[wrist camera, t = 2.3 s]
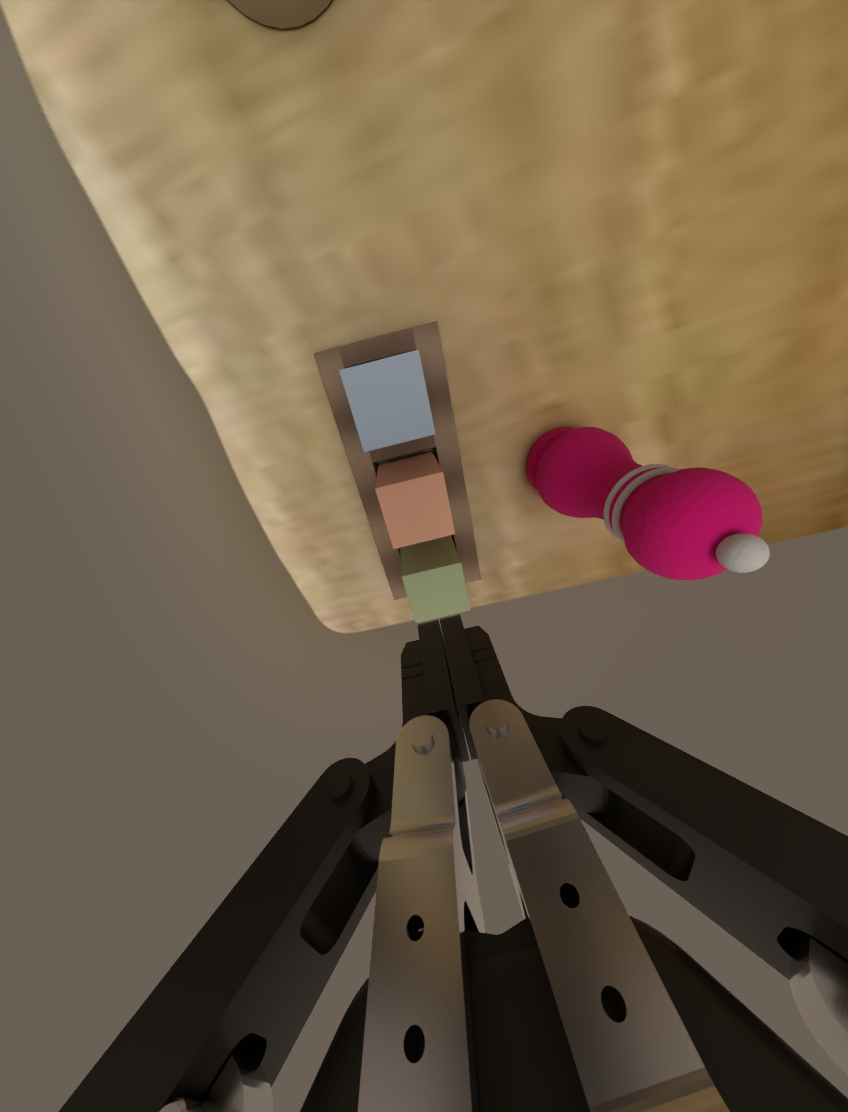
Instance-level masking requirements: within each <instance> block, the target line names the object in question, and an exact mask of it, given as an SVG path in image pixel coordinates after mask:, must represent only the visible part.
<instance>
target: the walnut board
mask: <svg viewBox="0 0 848 1112" xmlns="http://www.w3.org/2000/svg"><path fill="white" fill-rule="evenodd" d="M415 350H419V354H420V359H421V364H422V369H423V374H424V379H425V384H426V389H427V394H428V399H429V404H430V409H431V414H432V419H433V424H434V429H435V434H434V435H430V436H426V437H422V438H418V439H415V440H411V441H407V442H403V443H399V444H395V445H391V446H387V447H383V448H379V449H375V450H371V451H367V452H364V451H363V448H362V444H361V441H360V438H359V434H358V431H357V428H356V425H355V421H354V418H353V415H352V411H351V408H350V405H349V402H348V398H347V395H346V392H345V388H344V385H343V382H342V378H341V375H340V372H339V370H342V369H346V368H349V367H353V366H357V365H361V364H365V363H369V362H373V361H376V360H380V359H384V358H388V357H392V356H396V355H400V354H403V353H407V352H411V351H415ZM314 356H315V359H316V363H317V366H318V369H319V372H320V375H321V378H322V381H323V384H324V387H325V390H326V393H327V396H328V399H329V402H330V405H331V408H332V411H333V414H334V417H335V420H336V423H337V426H338V429H339V433H340V436H341V439H342V442H343V445H344V448H345V451H346V454H347V457H348V460H349V463H350V466H351V469H352V472H353V475H354V478H355V481H356V484H357V487H358V490H359V493H360V496H361V499H362V503H363V506H364V509H365V512H366V515H367V518H368V521H369V524H370V527H371V530H372V533H373V536H374V539H375V542H376V545H377V548H378V551H379V554H380V557H381V560H382V563H383V566H384V569H385V572H386V576H387V579H388V582H389V585H390V588H391V591H392V594H393V597H394V600H396V599H401V598H405V597H408V596H407V592H406V589H405V586H404V583H403V579H402V573H401V554H400V548H396V549H393V546H392V543H391V540H390V537H389V533H388V530H387V527H386V523H385V520H384V517H383V513H382V510H381V507H380V504H379V500H378V497H377V494H376V490H375V485H376V479H377V472H378V468H377V464H376V462H377V461H381V460H385V459H389V458H393V457H397V456H401V455H405V454H409V453H413V452H417V451H421V450H425V449H429V448H433V447H434V452H435V457H436V460H437V462H438V464H439V466H440V467H441V469H442V471H443V474H444V479H445V484H446V489H447V494H448V499H449V504H450V509H451V514H452V519H453V525H454V530H455V534H454V535H452V540H453V543H454V545H455V548H456V550H457V553H458V556H459V558H460V561H461V565H462V570H463V575H464V580H465V583H468V582H472V581H476V580H480V579H481V576H480V570H479V564H478V558H477V552H476V547H475V541H474V535H473V529H472V523H471V517H470V511H469V506H468V500H467V494H466V488H465V482H464V476H463V471H462V465H461V459H460V453H459V447H458V441H457V435H456V430H455V424H454V418H453V412H452V406H451V400H450V394H449V389H448V383H447V377H446V371H445V365H444V359H443V354H442V348H441V342H440V336H439V330H438V324H437V321H436V322H432V323H428V324H425V325H421V326H417V327H413V328H409V329H406V330H402V331H398V332H394V333H390V334H386V335H383V336H379V337H375V338H371V339H367V340H363V341H360V342H356V343H352V344H348V345H344V346H340V347H337V348H333V349H329V350H325V351H321V352H318V353H314Z"/></svg>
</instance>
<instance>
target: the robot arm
mask: <svg viewBox="0 0 848 1112" xmlns="http://www.w3.org/2000/svg"><path fill="white" fill-rule="evenodd" d="M228 1H229V2H230V3H232V4H233V5H234V6H235V7H236V8H237V9H239V10H240V11H241V12H242V13H243V14H244V15H246V16H248V17H250V18H252V19H254V20H255V21H257V22H259V23H261V24H263V25H267V26H272V27H276V28H281V29H283V28H292V27H299V26H301V25H303V24H305V23H307V22H309V21H311V20H313V19H315V18H316V17H317V16H318V15H319V14H320V13H321V12H322V11H323V10H324V9H325V8H326V7H327V6H328V5H329V3H330V2H331V0H228ZM440 623H441V628H442V632H441V628H440V625H439V621H438V620H435V621H431V622H427V623H422V624H419V625H418V631H419V640H416V641H412V642H408V643H406V645H405V647H404V649H403V652H402V654H401V669H402V670H401V675H402V705H403V726H402V729H401V731H400V732H399V734H398V737H397V740H396V742H395V743H394V744H393V745H392V746H391V747H390V748H389V749H388V750H387V751H386V752H384V753H383V754H381V755H379V756H378V757H376V758H374V759H373V760H371V761H369V762H367V763H366V764H364V763H363V762H362V761H360V760H358V759H355V758H346V759H342V760H339V761H337V762H335V763H334V764H332V765H331V766H330V767H328V769H326V770H325V772H324V773H323V774H322V775H321V776H320V778H319V779H318V780H317V782H316V783H315V784H314V785H313V787H312V788H311V789H310V790H309V792H308V793H307V794H306V796H305V797H304V798H303V800H302V801H301V802H300V803H299V805H298V806H297V807H296V808H295V810H294V811H293V812H292V814H291V815H290V816H289V817H288V819H287V820H286V821H285V822H284V824H283V825H282V827H281V828H280V829H279V830H278V831H277V833H276V834H275V835H274V837H273V838H272V839H271V840H270V842H269V843H268V844H267V846H266V847H265V848H264V849H263V851H262V852H261V853H260V854H259V856H258V857H257V858H256V860H255V861H254V862H253V864H252V865H251V866H250V867H249V869H248V870H247V871H246V873H245V874H244V875H243V876H242V878H241V879H240V880H239V881H238V883H237V884H236V885H235V886H234V888H233V889H232V890H231V892H230V893H229V894H228V895H227V897H226V898H225V899H224V901H223V902H222V903H221V904H220V906H219V907H218V908H217V910H216V911H215V912H214V913H213V915H212V916H211V917H210V919H209V920H208V921H207V923H206V924H205V925H204V926H203V928H202V929H201V930H200V931H199V933H198V934H197V935H196V936H195V938H194V939H193V940H192V942H191V943H190V944H189V945H188V947H187V948H186V949H185V951H184V952H183V953H182V954H181V956H180V957H179V958H178V960H177V961H176V962H175V963H174V965H173V966H172V967H171V968H170V970H169V971H168V972H167V974H166V975H165V976H164V977H163V979H162V980H161V981H160V982H159V984H158V985H157V986H156V988H155V989H154V990H153V991H152V993H151V994H150V995H149V997H148V998H147V999H146V1000H145V1002H144V1003H143V1004H142V1006H141V1007H140V1008H139V1010H138V1011H137V1012H136V1013H135V1015H134V1016H133V1017H132V1018H131V1020H130V1021H129V1022H128V1023H127V1025H126V1026H125V1027H124V1029H123V1030H122V1031H121V1032H120V1034H119V1035H118V1036H117V1038H116V1039H115V1040H114V1041H113V1043H112V1044H111V1045H110V1047H109V1048H108V1049H107V1050H106V1052H105V1053H104V1054H103V1055H102V1057H101V1058H100V1059H99V1061H98V1062H97V1063H96V1064H95V1066H94V1067H93V1068H92V1070H91V1071H90V1072H89V1073H88V1075H87V1076H86V1077H85V1079H84V1080H83V1081H82V1082H81V1084H80V1085H79V1086H78V1087H77V1089H76V1090H75V1091H74V1093H73V1094H72V1095H71V1096H70V1098H69V1099H68V1100H67V1102H66V1103H65V1104H64V1105H63V1107H62V1108H61V1109H60V1111H59V1112H273V1097H272V1091H271V1087H272V1085H273V1083H274V1081H275V1079H276V1077H277V1075H278V1074H279V1072H280V1070H281V1068H282V1066H283V1064H284V1062H285V1060H286V1059H287V1057H288V1055H289V1053H290V1051H291V1049H292V1047H293V1045H294V1043H295V1042H296V1040H297V1038H298V1036H299V1034H300V1032H301V1030H302V1029H303V1026H304V1025H305V1023H306V1021H307V1019H308V1017H309V1015H310V1014H311V1012H312V1010H313V1008H314V1006H315V1004H316V1002H317V1000H318V999H319V997H320V995H321V993H322V991H323V989H324V987H325V985H326V984H327V982H328V980H329V978H330V976H331V974H332V972H333V970H334V969H335V967H336V965H337V963H338V961H339V959H340V957H341V955H342V954H343V952H344V950H345V948H346V946H347V944H348V942H349V940H350V939H351V937H352V935H353V933H354V931H355V929H356V927H357V925H358V923H359V922H360V920H361V918H362V916H363V914H364V912H365V910H366V909H367V907H368V905H369V903H370V901H371V899H372V897H373V896H374V894H375V892H376V902H375V913H374V925H373V937H372V949H371V960H370V972H369V978H368V979H367V980H366V981H365V983H364V985H363V986H362V987H361V988H360V990H359V991H358V993H357V994H356V996H355V997H354V999H353V1001H352V1002H351V1004H350V1006H349V1008H348V1009H347V1011H346V1013H345V1015H344V1017H343V1019H342V1021H341V1023H340V1025H339V1027H338V1030H337V1032H336V1034H335V1036H334V1039H333V1041H332V1043H331V1045H330V1047H329V1049H328V1052H327V1054H326V1056H325V1058H324V1060H323V1062H322V1065H321V1067H320V1069H319V1071H318V1073H317V1076H316V1078H315V1080H314V1082H313V1084H312V1086H311V1089H310V1091H309V1093H308V1095H307V1097H306V1100H305V1102H304V1104H303V1106H302V1108H301V1111H300V1112H848V1098H847V1097H845V1096H844V1095H843V1094H842V1093H841V1092H840V1091H839V1090H838V1089H837V1088H836V1087H834V1086H833V1085H832V1084H831V1083H830V1082H829V1081H828V1080H827V1079H826V1078H824V1077H823V1076H822V1075H821V1074H820V1073H819V1072H818V1071H817V1070H816V1069H814V1068H813V1067H812V1066H811V1065H810V1064H809V1063H808V1062H807V1061H806V1060H805V1059H803V1058H802V1057H801V1056H800V1055H799V1054H798V1053H797V1052H796V1051H795V1050H794V1049H792V1048H791V1047H790V1046H789V1045H788V1044H787V1043H786V1042H785V1041H784V1040H782V1039H781V1038H780V1037H779V1036H778V1035H777V1034H776V1033H775V1032H774V1031H773V1030H771V1029H770V1028H769V1027H768V1026H767V1025H766V1024H765V1023H764V1022H762V1021H761V1020H760V1019H759V1018H758V1017H757V1016H756V1015H755V1014H754V1013H752V1011H750V1010H749V1009H748V1008H747V1007H746V1006H745V1005H744V1004H743V1003H741V1002H740V1001H739V1000H738V999H737V998H736V997H735V996H734V995H733V994H732V993H731V992H729V991H728V990H727V989H726V988H725V987H724V986H723V985H722V984H721V983H719V982H718V981H717V980H716V979H715V978H714V977H713V976H712V975H711V974H709V973H708V972H707V971H706V970H705V969H704V968H703V967H702V966H701V965H700V964H698V963H697V962H696V961H695V960H694V959H693V958H692V957H691V956H690V955H688V954H687V953H686V952H685V951H684V950H683V949H682V948H680V947H679V946H678V945H677V944H676V943H674V942H673V941H671V940H670V939H669V938H667V937H666V936H665V935H664V934H662V933H661V932H659V931H658V930H656V929H654V928H653V927H651V926H649V925H648V924H646V923H644V922H642V921H640V920H638V919H636V918H633V917H632V916H629V915H628V913H627V911H626V909H625V907H624V905H623V903H622V901H621V899H620V897H619V895H618V893H617V891H616V889H615V887H614V885H613V883H612V881H611V879H610V877H609V875H608V873H607V871H606V869H605V867H604V865H603V864H602V862H601V859H600V857H599V855H598V853H597V851H596V849H595V847H594V845H593V843H592V842H591V839H590V837H589V835H588V834H587V832H586V829H585V827H584V826H583V824H582V822H581V819H582V820H583V821H584V822H586V823H587V824H588V825H590V826H591V827H592V828H594V829H595V830H596V831H598V832H599V833H600V834H601V835H602V836H604V837H605V838H606V839H608V840H609V841H610V842H612V843H613V844H614V845H615V846H617V847H618V848H619V849H621V850H622V851H623V852H624V853H626V854H627V855H628V856H630V857H631V858H632V859H634V860H635V861H636V862H637V863H639V864H640V865H641V866H643V867H644V868H645V869H647V870H648V871H649V872H650V873H652V874H653V875H654V876H655V877H657V878H658V879H659V880H661V881H662V882H663V883H665V884H666V885H667V886H668V887H670V888H671V889H672V890H674V891H675V892H676V893H677V894H679V895H680V896H681V897H683V898H684V899H685V900H687V901H688V902H689V903H690V904H692V905H693V906H694V907H696V908H697V909H698V910H700V911H701V912H702V913H703V914H705V915H706V916H707V917H709V918H710V919H711V920H712V921H714V922H715V923H716V924H718V925H719V926H720V927H721V928H723V929H724V930H725V931H727V932H728V933H729V934H731V935H732V936H733V937H734V938H736V939H737V940H738V941H740V942H741V943H742V944H744V945H745V946H746V947H747V948H749V949H750V950H751V951H753V952H754V953H755V954H756V955H758V956H759V957H760V958H762V959H763V960H764V961H765V962H767V963H768V964H769V965H771V966H772V967H773V968H775V969H776V970H777V971H778V972H780V973H781V974H782V975H784V976H785V977H787V979H789V980H790V986H791V991H792V994H793V998H794V1001H795V1003H796V1006H797V1008H798V1010H799V1013H800V1015H801V1016H802V1018H803V1020H804V1022H805V1024H806V1026H807V1027H808V1029H809V1030H810V1032H811V1033H812V1035H813V1036H814V1038H815V1039H816V1040H817V1042H818V1043H819V1044H820V1046H821V1047H822V1048H823V1050H824V1051H825V1052H826V1053H827V1054H828V1055H829V1057H830V1058H831V1059H832V1060H833V1061H834V1062H835V1063H836V1064H837V1065H838V1066H839V1067H840V1068H841V1069H842V1070H843V1071H844V1072H845V1073H846V1074H847V1075H848V836H846V835H844V834H842V833H840V832H838V831H836V830H835V829H833V828H831V827H828V826H827V825H825V824H823V823H821V822H819V821H817V820H815V819H813V818H811V817H809V816H807V815H805V814H804V813H802V812H800V811H798V810H796V809H794V808H792V807H790V806H788V805H786V804H784V803H782V802H780V801H778V800H777V799H774V798H773V797H770V796H769V795H767V794H765V793H763V792H761V791H759V790H757V789H755V788H753V787H751V786H749V785H747V784H746V783H744V782H741V781H740V780H738V779H736V778H734V777H732V776H730V775H728V774H726V773H724V772H722V771H720V770H718V769H716V768H715V767H712V766H711V765H709V764H707V763H704V762H703V761H701V760H699V759H697V758H695V757H693V756H691V755H689V754H687V753H686V752H684V751H682V750H680V749H678V748H676V747H674V746H672V745H670V744H668V743H666V742H664V741H662V740H660V739H658V738H656V737H655V736H653V735H651V734H649V733H647V732H645V731H643V730H641V729H639V728H637V727H635V726H633V725H631V724H629V723H627V722H626V721H624V720H622V719H620V718H618V717H616V716H614V715H612V714H610V713H608V712H606V711H604V710H602V709H599V708H596V707H591V706H580V707H576V708H573V709H571V710H569V711H568V712H567V713H566V714H565V715H564V716H563V718H551V717H541V716H536V715H533V714H531V713H528V712H527V711H525V710H523V709H522V708H521V707H519V706H518V704H517V703H516V702H515V701H514V699H513V697H512V695H511V692H510V690H509V687H508V685H507V682H506V679H505V677H504V674H503V672H502V669H501V666H500V664H499V661H498V659H497V656H496V653H495V651H494V649H493V645H492V643H491V640H490V638H489V635H488V634H487V633H486V632H485V631H484V630H483V629H482V628H480V627H479V626H475V627H471V628H466V629H464V627H463V624H462V620H461V617H460V615H456V616H452V617H447V618H443V619H440ZM442 633H443V636H442ZM443 638H444V640H443ZM463 729H464V731H463ZM464 733H465V736H464ZM465 737H466V740H467V744H468V748H469V751H470V755H471V759H472V760H473V759H477V758H478V762H479V766H480V770H481V774H482V778H483V781H484V785H485V789H486V792H487V796H488V799H489V803H490V806H491V809H492V813H493V815H494V819H495V822H496V826H497V829H498V832H499V835H500V839H501V842H502V846H503V849H504V852H505V855H506V859H507V862H508V865H509V869H510V872H511V875H512V879H513V882H514V886H515V890H516V893H517V896H518V900H519V903H520V907H521V910H522V913H523V917H524V920H523V921H521V922H520V923H518V924H516V925H515V926H513V927H512V928H510V929H509V930H507V931H506V932H504V933H502V934H499V935H492V934H487V933H485V929H484V921H483V914H482V908H481V901H480V896H479V891H478V886H477V879H476V872H475V863H474V854H473V845H472V837H471V828H470V819H469V811H468V810H469V809H468V801H467V792H466V781H465V776H464V770H463V765H462V762H465V761H469V756H468V751H467V747H466V741H465Z"/></svg>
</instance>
